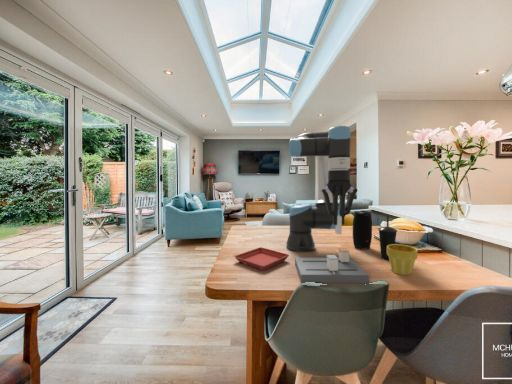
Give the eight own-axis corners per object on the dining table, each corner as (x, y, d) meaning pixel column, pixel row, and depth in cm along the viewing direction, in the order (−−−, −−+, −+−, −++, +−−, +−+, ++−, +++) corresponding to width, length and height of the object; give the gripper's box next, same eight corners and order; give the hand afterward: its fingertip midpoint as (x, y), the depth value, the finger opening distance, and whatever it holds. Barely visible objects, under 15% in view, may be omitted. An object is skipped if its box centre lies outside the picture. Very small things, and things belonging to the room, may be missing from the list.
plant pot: (407, 279, 86) (407, 253, 85) (380, 269, 95) (381, 246, 95) (422, 273, 91) (423, 249, 90) (396, 265, 100) (396, 242, 99)
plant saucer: (263, 273, 94) (263, 265, 94) (233, 263, 106) (233, 255, 106) (289, 261, 107) (289, 254, 107) (260, 253, 119) (260, 247, 119)
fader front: (329, 270, 86) (329, 258, 86) (326, 266, 90) (326, 254, 90) (337, 270, 86) (338, 258, 86) (334, 266, 90) (334, 254, 90)
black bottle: (399, 261, 104) (400, 217, 103) (380, 260, 105) (381, 216, 104) (393, 256, 111) (393, 214, 110) (375, 255, 113) (376, 214, 112)
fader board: (300, 282, 84) (300, 274, 84) (295, 264, 102) (295, 257, 102) (369, 283, 83) (369, 274, 83) (351, 264, 101) (351, 257, 101)
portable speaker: (373, 250, 120) (373, 212, 119) (353, 249, 123) (353, 212, 122) (369, 246, 128) (370, 210, 127) (351, 245, 131) (351, 210, 130)
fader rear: (341, 262, 95) (341, 251, 94) (338, 258, 99) (338, 248, 98) (349, 262, 94) (349, 251, 94) (345, 258, 99) (345, 248, 98)
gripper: (323, 169, 82) (323, 235, 84) (361, 169, 82) (360, 235, 83) (318, 170, 90) (318, 231, 92) (353, 169, 89) (352, 230, 91)
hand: (338, 233), depth 87 cm, fingers closed
